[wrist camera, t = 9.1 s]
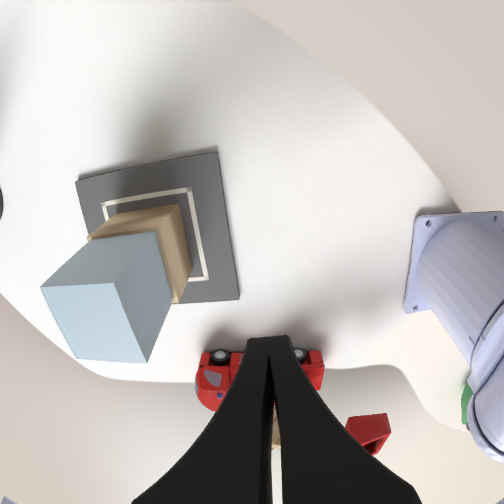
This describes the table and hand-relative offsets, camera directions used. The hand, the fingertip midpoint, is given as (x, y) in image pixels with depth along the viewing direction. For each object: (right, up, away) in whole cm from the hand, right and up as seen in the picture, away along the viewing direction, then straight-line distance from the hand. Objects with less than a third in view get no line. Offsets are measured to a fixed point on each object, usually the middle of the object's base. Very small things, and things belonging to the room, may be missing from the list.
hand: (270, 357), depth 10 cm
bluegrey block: (-7, +3, +5) cm, 9 cm away
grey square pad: (-7, +5, +9) cm, 13 cm away
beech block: (-7, +4, +9) cm, 12 cm away
